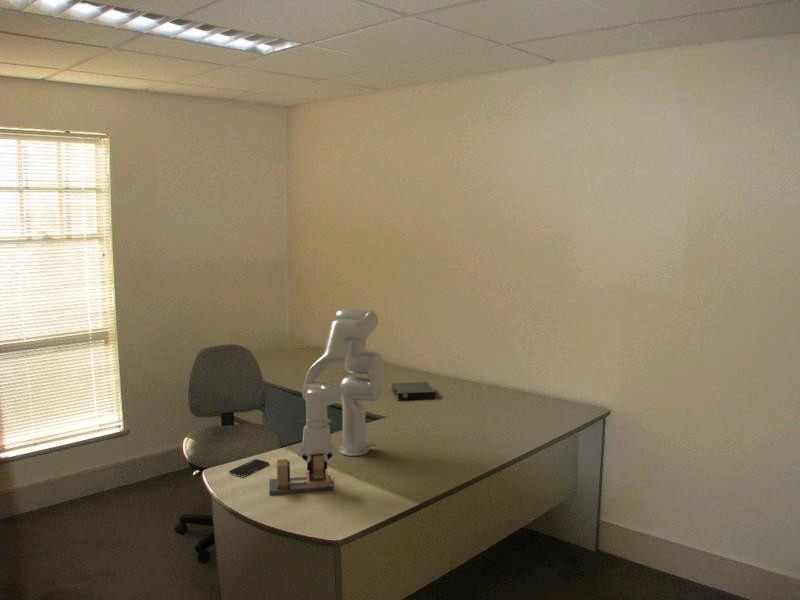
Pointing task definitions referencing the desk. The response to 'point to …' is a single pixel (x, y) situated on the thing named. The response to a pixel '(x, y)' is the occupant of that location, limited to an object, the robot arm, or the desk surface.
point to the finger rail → (297, 481)
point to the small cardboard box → (317, 466)
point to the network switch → (413, 391)
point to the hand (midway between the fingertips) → (317, 471)
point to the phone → (249, 467)
